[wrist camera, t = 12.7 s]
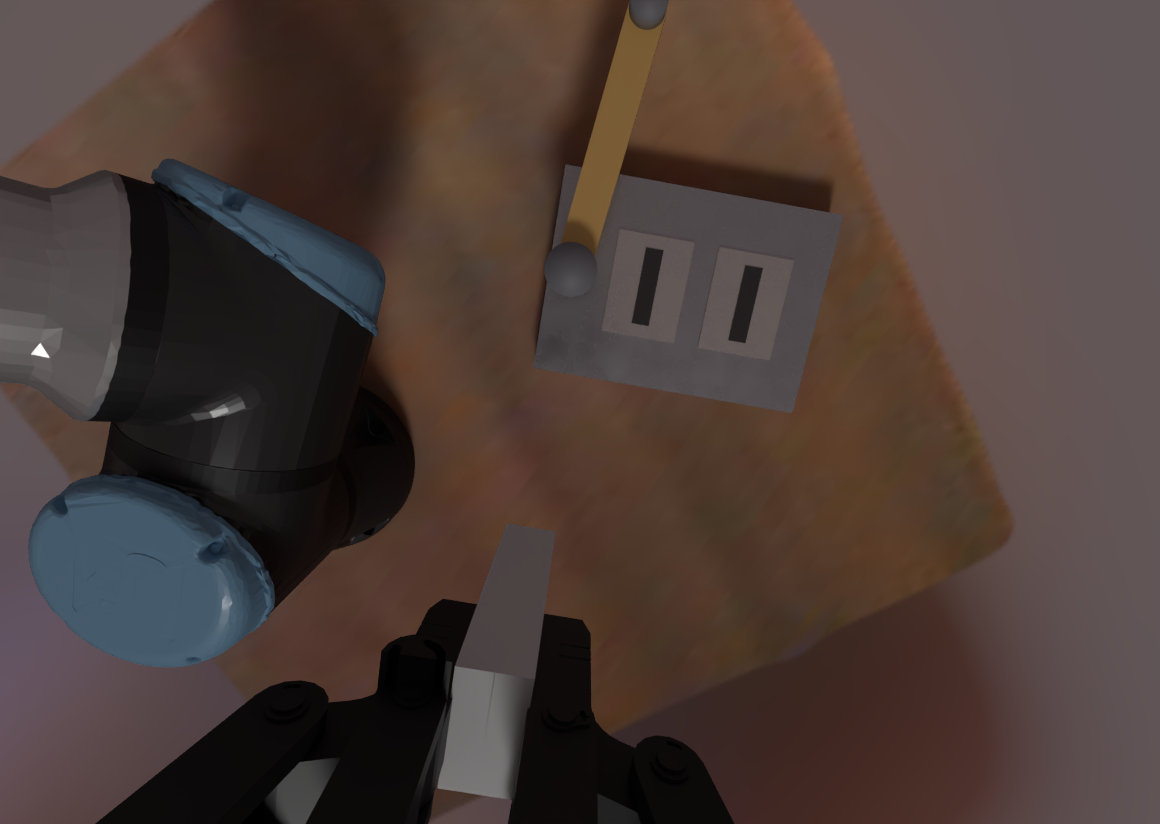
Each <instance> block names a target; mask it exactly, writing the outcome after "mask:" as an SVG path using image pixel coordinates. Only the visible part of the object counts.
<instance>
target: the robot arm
mask: <svg viewBox="0 0 1160 824" xmlns="http://www.w3.org/2000/svg"><path fill="white" fill-rule="evenodd" d="M151 178H152V179H153V181H155V183H154V184H149V183H146V182H143V181H140V180H137V179H133V178H130V177H127V176H124V175H121V174H117V173H115V172H111V171H107V170H101V171H98V172H95V173H93V174H90V175H88V176H85V177H83V178H80V179H78V180H75V181H73V182H70V183H68V184H65V185H63V186H60V187H58V188H43V187H39V186H35V185H32V184H28V183H24V182H21V181H17V180H13V179H10V178H6V177H3V176H0V382H4V383H18V384H25V385H27V386H30V387H32V388H34V389H36V390H38V391H39V392H40V393H42V394H43V395H44V396H45V397H46V398H48V399H49V400H50V401H51V402H52V403H54V404H55V405H56V406H57V407H59V408H60V409H61V410H62V411H63V412H65V413H66V414H67V415H68V416H69V417H71V418H72V419H75V420H80V421H104V422H111V425H110V430H109V435H108V440H107V445H106V450H105V456H104V461H103V466H102V469H101V471H100V473H99V474H98V475H95V476H91V477H88V478H84V479H80V480H78V481H76V482H74V483H72V484H70V485H69V486H68V487H67V488H66V489H65V490H64V491H63V492H62V493H61V494H60V495H58V496H56V497H54V498H53V499H52V500H50V501H49V502H48V503H47V504H46V505H45V506H44V507H43V508H42V510H41V511H40V512H39V514H38V516H37V518H36V520H35V521H34V523H33V525H32V529H31V532H30V537H29V545H28V549H29V562H30V567H31V571H32V574H33V577H34V580H35V582H36V585H37V587H38V589H39V591H40V593H41V595H42V596H43V597H44V599H45V600H46V602H47V604H48V605H49V607H50V608H51V609H52V611H53V612H55V613H56V614H57V615H58V616H60V617H61V618H62V619H63V620H64V622H65V623H66V624H67V626H68V627H69V628H70V629H71V630H72V631H73V632H74V633H75V634H77V635H78V636H79V637H81V638H82V639H83V640H85V641H86V642H88V643H90V644H91V645H93V646H94V647H96V648H98V649H100V650H102V651H103V652H106V653H108V654H110V655H112V656H115V657H117V658H120V659H123V660H126V661H130V662H133V663H137V664H141V665H147V666H155V667H181V666H188V665H194V664H197V663H200V662H201V661H204V660H208V659H210V658H213V657H216V656H218V655H220V654H222V653H223V652H225V651H227V650H228V649H229V648H231V647H232V646H233V645H235V644H236V643H237V642H239V641H240V640H241V639H242V638H244V637H245V636H246V635H248V634H249V633H250V632H252V631H254V630H256V629H257V628H258V627H259V626H260V625H262V624H263V623H264V622H265V620H266V619H267V618H268V617H269V615H270V613H271V612H272V611H273V610H274V609H275V608H276V607H277V606H278V605H279V604H280V603H281V602H282V601H283V600H284V599H285V598H286V597H287V596H288V595H289V594H290V593H291V592H292V591H293V590H294V589H295V588H296V587H297V586H298V585H299V584H300V583H301V582H302V581H303V580H304V579H305V578H306V577H307V576H308V575H309V574H310V573H311V572H312V571H313V570H314V569H315V568H316V567H317V566H318V565H319V564H320V563H321V561H322V560H323V559H324V558H325V557H326V556H327V555H328V554H329V553H330V552H331V551H333V550H336V549H339V548H343V547H346V546H350V545H353V544H356V543H359V542H361V541H363V540H366V539H368V538H369V537H371V536H373V535H374V534H376V533H377V532H379V531H380V530H381V529H382V528H384V527H385V526H386V525H387V524H388V523H389V522H390V521H391V519H392V518H393V517H394V516H395V515H396V514H397V513H398V512H399V510H400V509H401V508H402V506H403V505H404V503H405V501H406V499H407V498H408V495H409V493H410V490H411V487H412V483H413V478H414V454H413V449H412V445H411V442H410V439H409V436H408V434H407V432H406V430H405V428H404V426H403V424H402V422H401V421H400V419H399V418H398V417H397V415H396V414H395V413H394V412H393V410H392V409H391V408H390V407H389V406H388V405H387V404H386V403H385V402H383V401H382V400H381V399H380V398H378V397H377V396H376V395H374V394H373V393H371V392H369V391H368V390H366V389H364V388H362V387H359V386H360V382H361V379H362V375H363V372H364V368H365V364H366V361H367V357H368V354H369V350H370V347H371V343H372V339H373V336H376V337H377V334H378V327H377V325H376V324H377V319H378V315H379V310H380V306H381V302H382V297H383V293H384V289H385V273H384V270H383V267H382V265H381V264H380V262H379V260H378V259H377V258H376V257H375V256H374V255H373V254H372V253H371V252H369V251H368V250H366V249H364V248H363V247H361V246H359V245H357V244H355V243H353V242H351V241H349V240H347V239H345V238H343V237H341V236H338V235H336V234H334V233H332V232H330V231H328V230H326V229H324V228H322V227H320V226H318V225H316V224H313V223H311V222H309V221H307V220H305V219H303V218H301V217H299V216H296V215H294V214H292V213H290V212H288V211H286V210H284V209H281V208H279V207H277V206H275V205H273V204H271V203H268V202H266V201H264V200H262V199H260V198H257V197H255V196H253V195H250V194H248V193H246V192H244V191H243V190H240V189H238V188H236V187H234V186H231V185H229V184H227V183H225V182H223V181H221V180H219V179H217V178H215V177H213V176H211V175H208V174H206V173H204V172H202V171H200V170H198V169H195V168H193V167H191V166H189V165H186V164H184V163H182V162H180V161H177V160H174V159H165V160H163V161H162V162H161V163H160V165H159V167H158V169H154V170H153V171H152V177H151ZM554 538H555V531H549V530H543V529H537V528H531V527H525V526H519V525H513V524H506V526H505V529H504V532H503V535H502V537H501V540H500V543H499V546H498V548H497V551H496V554H495V557H494V559H493V562H492V565H491V568H490V571H489V573H488V576H487V579H486V582H485V584H484V587H483V590H482V593H481V595H480V598H479V601H478V604H472V603H466V602H459V601H453V600H447V599H442V600H441V601H439V602H438V603H436V604H435V605H434V606H432V607H431V608H430V609H429V610H428V612H427V614H426V615H425V617H424V619H423V621H422V625H420V627H419V629H418V631H417V633H416V635H409V636H404V637H400V638H398V639H396V640H394V641H392V642H390V643H388V645H387V646H386V647H385V648H384V649H383V650H382V651H381V660H380V669H379V678H378V688H377V691H376V693H375V694H373V695H371V696H368V697H365V698H362V699H357V700H351V701H341V702H330V703H328V699H329V698H328V696H327V694H326V692H325V690H324V689H323V688H321V687H320V686H318V685H317V684H315V683H311V682H306V681H301V680H300V681H288V682H283V683H279V684H276V685H273V686H270V687H268V688H266V689H265V690H263V691H261V692H260V693H258V694H256V695H255V696H254V697H253V698H251V699H250V700H249V701H248V702H246V703H245V704H244V705H243V706H242V707H240V708H239V709H238V710H236V711H235V712H234V713H233V714H232V715H230V716H229V717H228V718H227V719H225V720H224V721H223V722H221V723H220V724H219V725H218V726H217V727H215V728H214V729H213V730H212V731H210V732H209V733H208V734H207V735H205V736H204V737H203V738H202V739H200V740H199V741H198V742H197V743H195V744H194V745H193V746H192V747H190V748H189V749H188V750H187V751H186V752H184V753H183V754H182V755H180V756H179V757H178V758H177V759H175V760H174V761H173V762H172V763H170V764H169V765H168V766H167V767H166V768H164V769H163V770H162V771H161V772H159V773H158V774H157V775H155V776H154V777H153V778H152V779H151V780H149V781H148V782H147V783H146V784H144V785H143V786H142V787H141V788H139V789H138V790H137V791H136V792H135V793H133V794H132V795H131V796H129V797H128V798H127V799H126V800H124V801H123V802H122V803H121V804H119V805H118V806H117V807H116V808H114V809H113V810H112V811H111V812H109V813H108V814H107V815H106V816H104V817H103V818H102V819H101V820H99V821H98V822H97V823H96V824H428V823H429V819H430V816H431V810H432V803H433V796H434V791H435V788H436V784H437V781H438V778H439V782H438V788H439V789H446V790H452V791H459V792H465V793H472V794H478V795H484V796H491V797H498V798H504V799H510V800H512V804H511V809H510V815H509V821H508V824H734V822H733V820H732V818H731V816H730V814H729V812H728V810H727V808H726V807H725V804H724V803H723V801H722V799H721V797H720V795H719V793H718V791H717V789H716V787H715V785H714V783H713V781H712V779H711V777H710V775H709V773H708V771H707V770H706V767H705V765H704V763H703V762H702V761H701V759H700V758H699V757H698V755H697V754H696V753H695V752H694V751H693V750H691V748H689V747H688V746H687V745H685V744H684V743H682V742H680V741H678V740H675V739H673V738H670V737H664V736H652V737H648V738H645V739H643V740H642V741H641V742H640V743H638V744H637V746H636V748H633V747H631V746H629V745H627V744H625V743H622V742H620V741H618V740H617V739H615V738H613V737H611V736H610V735H608V734H607V733H606V732H605V731H604V730H602V728H601V727H600V726H599V725H598V724H597V722H596V720H595V717H594V713H593V712H592V709H591V663H590V661H591V651H590V649H591V637H590V632H589V630H588V629H587V627H586V625H585V624H584V622H583V620H579V619H573V618H567V617H561V616H555V615H548V614H544V610H545V603H546V596H547V589H548V582H549V574H550V567H551V560H552V553H553V546H554Z"/></svg>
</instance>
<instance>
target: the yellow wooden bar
mask: <svg viewBox="0 0 1160 824" xmlns="http://www.w3.org/2000/svg"><path fill="white" fill-rule="evenodd" d="M669 4H670V0H630V1H629V4H628V8H627V11H626V15H625V18H624V22H623V25H622V29H621V32H620V36H619V39H618V43H617V47H616V50H615V54H614V57H613V61H612V64H611V68H610V71H609V75H608V78H607V82H606V85H605V89H604V92H603V96H602V99H601V103H600V106H599V110H598V113H597V117H596V120H595V124H594V128H593V131H592V135H591V138H590V142H589V145H588V149H587V152H586V156H585V159H584V163H583V166H582V170H581V173H580V177H579V180H578V184H577V187H576V191H575V194H574V198H573V201H572V205H571V209H570V212H569V216H568V219H567V223H566V226H565V230H564V233H563V237H562V240H561V244H559V245H557V246H556V247H555V248H553V249H552V250H551V251H550V253H549V254H548V256H547V258H546V261H545V265H544V273H545V278H546V280H547V282H548V284H549V286H550V287H551V288H552V289H553V290H554V291H555V292H557V293H558V294H560V295H563V296H568V297H575V296H579V295H582V294H584V293H585V292H587V291H588V290H589V289H590V288H591V287H592V285H593V284H594V282H595V279H596V276H597V262H596V259H595V254H596V250H597V247H598V244H599V240H600V237H601V234H602V230H603V227H604V224H605V220H606V217H607V213H608V210H609V207H610V203H611V200H612V197H613V193H614V190H615V187H616V183H617V180H618V176H619V173H620V170H621V166H622V163H623V160H624V156H625V153H626V150H627V146H628V143H629V140H630V136H631V133H632V129H633V126H634V123H635V119H636V116H637V113H638V109H639V106H640V103H641V99H642V96H643V93H644V89H645V86H646V82H647V79H648V76H649V72H650V69H651V66H652V62H653V59H654V56H655V52H656V49H657V45H658V42H659V39H660V35H661V32H662V29H663V25H664V22H665V18H666V15H667V11H668V7H669Z"/></svg>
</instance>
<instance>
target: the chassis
mask: <svg viewBox="0 0 1160 824" xmlns="http://www.w3.org/2000/svg"><path fill="white" fill-rule="evenodd" d="M581 170H582V167H578V166H572V165H567V164H565V171H564V177H563V183H562V190H561V196H560V202H559V209H558V215H557V221H556V228H555V234H554V240H553V247H552V249H553V248H555V247H556V246H557V245H559V244H561V240H562V237H563V233H564V230H565V226H566V223H567V219H568V216H569V212H570V209H571V205H572V201H573V198H574V194H575V191H576V187H577V184H578V180H579V177H580V173H581ZM843 216H844V215H840V214H835V213H829V212H824V211H818V210H813V209H807V208H802V207H796V206H791V205H786V204H780V203H775V202H769V201H764V200H758V199H753V198H747V197H742V196H736V195H731V194H725V193H720V192H715V191H709V190H704V189H698V188H693V187H687V186H682V185H676V184H671V183H665V182H660V181H654V180H649V179H643V178H638V177H633V176H627V175H622V174H619V176H618V180H617V183H616V187H615V190H614V193H613V197H612V200H611V203H610V207H609V210H608V213H607V217H606V220H605V224H604V227H603V230H602V234H601V237H600V240H599V244H598V247H597V250H596V254H595V259H596V262H597V276H596V279H595V282H594V284H593V285H592V287H591V288H590V289H589V290H588V291H587V292H585V293H584V294H582V295H579V296H575V297H568V296H563V295H560V294H558V293H557V292H555V291H554V290H553V289H552V288H551V287H550V286H549V284H548V282H547V285H546V291H545V297H544V304H543V310H542V316H541V323H540V329H539V336H538V342H537V348H536V355H535V361H534V367H533V368H538V369H544V370H550V371H555V372H561V373H567V374H572V375H578V376H584V377H590V378H595V379H601V380H607V381H612V382H618V383H624V384H630V385H635V386H641V387H647V388H652V389H658V390H664V391H670V392H675V393H681V394H687V395H692V396H698V397H704V398H710V399H715V400H721V401H727V402H732V403H738V404H744V405H749V406H755V407H761V408H767V409H772V410H778V411H784V412H789V413H793V409H794V405H795V401H796V397H797V393H798V389H799V386H800V382H801V378H802V374H803V370H804V366H805V362H806V359H807V355H808V351H809V347H810V343H811V339H812V335H813V332H814V328H815V324H816V320H817V316H818V312H819V308H820V305H821V301H822V297H823V293H824V289H825V285H826V281H827V278H828V274H829V270H830V266H831V262H832V258H833V254H834V251H835V247H836V243H837V239H838V235H839V231H840V227H841V224H842V220H843Z"/></svg>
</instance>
